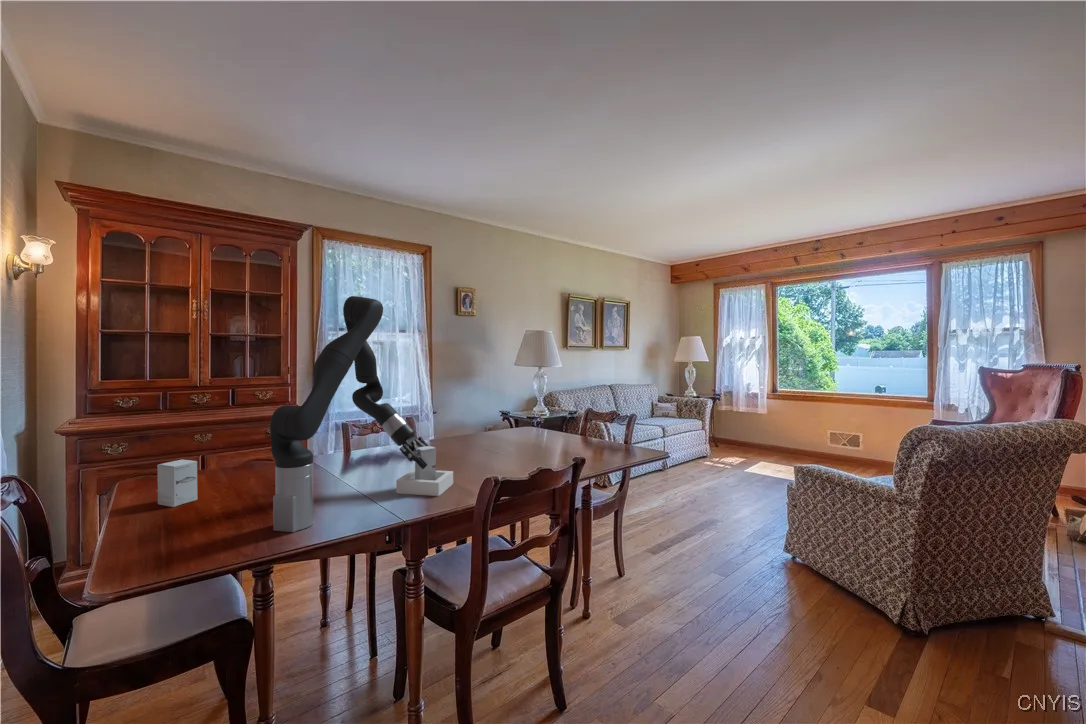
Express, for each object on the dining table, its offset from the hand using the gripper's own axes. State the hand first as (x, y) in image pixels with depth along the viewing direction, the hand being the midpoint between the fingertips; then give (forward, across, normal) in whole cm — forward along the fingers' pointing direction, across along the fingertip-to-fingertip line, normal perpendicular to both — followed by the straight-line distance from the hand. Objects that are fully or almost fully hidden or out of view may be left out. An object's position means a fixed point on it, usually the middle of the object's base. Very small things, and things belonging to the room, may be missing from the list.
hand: (429, 464), depth 162 cm
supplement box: (-44, -28, +57) cm, 77 cm away
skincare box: (+4, 0, +6) cm, 7 cm away
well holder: (+5, 0, +7) cm, 9 cm away
